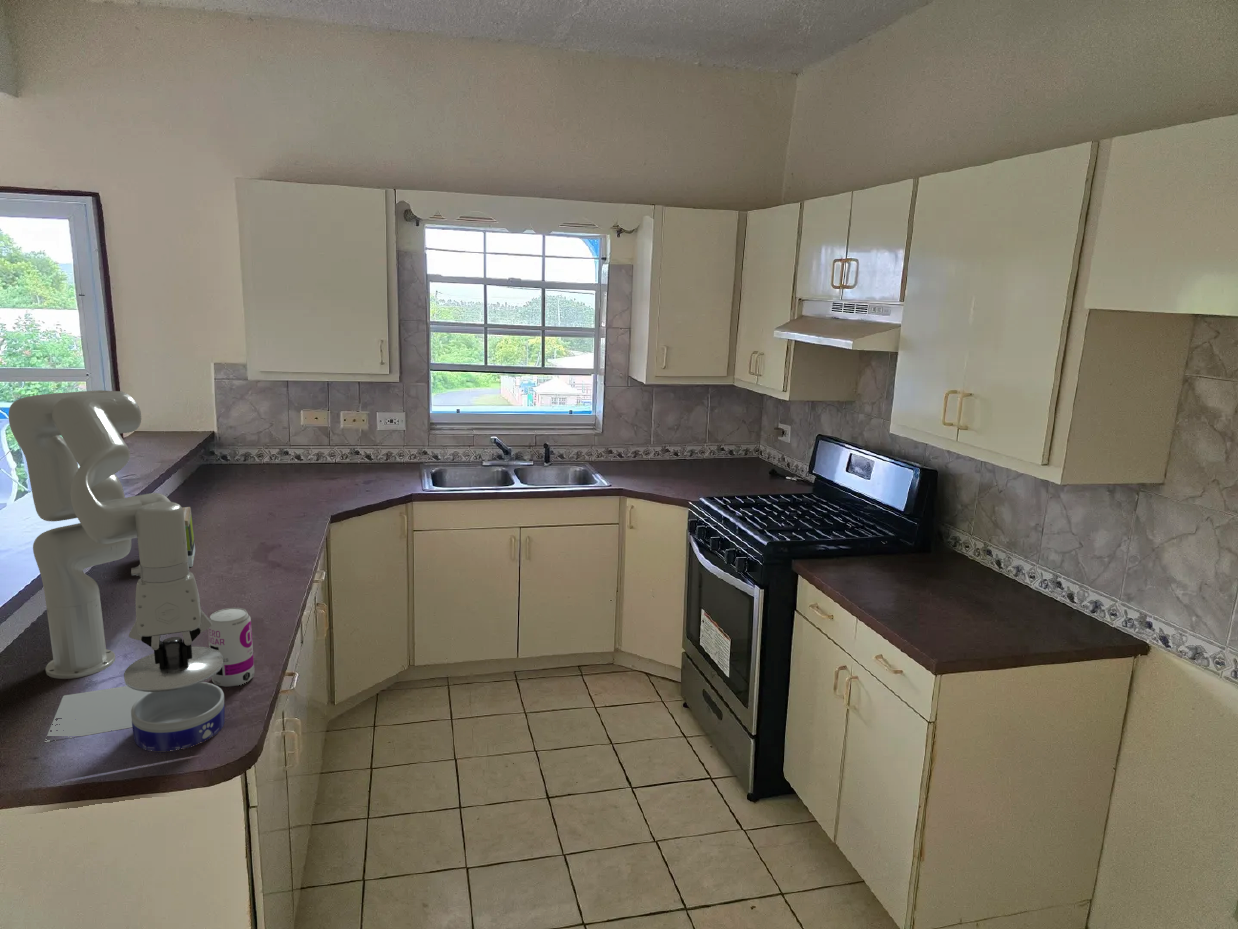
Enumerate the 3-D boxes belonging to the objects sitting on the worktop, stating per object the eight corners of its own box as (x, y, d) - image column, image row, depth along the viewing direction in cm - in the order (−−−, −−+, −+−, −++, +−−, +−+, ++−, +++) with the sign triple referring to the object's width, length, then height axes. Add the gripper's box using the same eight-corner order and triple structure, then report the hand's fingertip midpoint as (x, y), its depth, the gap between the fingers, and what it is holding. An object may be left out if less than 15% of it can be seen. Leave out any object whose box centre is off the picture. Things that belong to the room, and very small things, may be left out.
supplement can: (260, 670, 174) (256, 607, 170) (244, 689, 166) (239, 623, 162) (223, 670, 173) (218, 606, 170) (205, 689, 165) (199, 622, 162)
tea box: (158, 555, 241) (154, 508, 238) (196, 551, 245) (192, 505, 242) (153, 571, 228) (149, 522, 225) (193, 567, 232) (189, 519, 229)
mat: (63, 697, 160) (63, 695, 160) (165, 681, 168) (165, 680, 167) (44, 744, 144) (44, 742, 144) (158, 724, 152) (157, 722, 152)
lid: (129, 659, 151) (126, 630, 149) (223, 645, 157) (221, 617, 156) (119, 699, 136) (115, 667, 135) (222, 682, 143) (220, 651, 142)
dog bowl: (186, 760, 141) (184, 730, 140) (112, 745, 144) (110, 715, 143) (242, 716, 156) (241, 688, 154) (174, 703, 158) (172, 675, 157)
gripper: (108, 583, 136) (120, 681, 140) (215, 572, 143) (223, 665, 147) (114, 569, 143) (125, 663, 147) (216, 559, 149) (224, 649, 153)
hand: (174, 663), depth 147 cm, fingers closed on lid, 3 cm apart
